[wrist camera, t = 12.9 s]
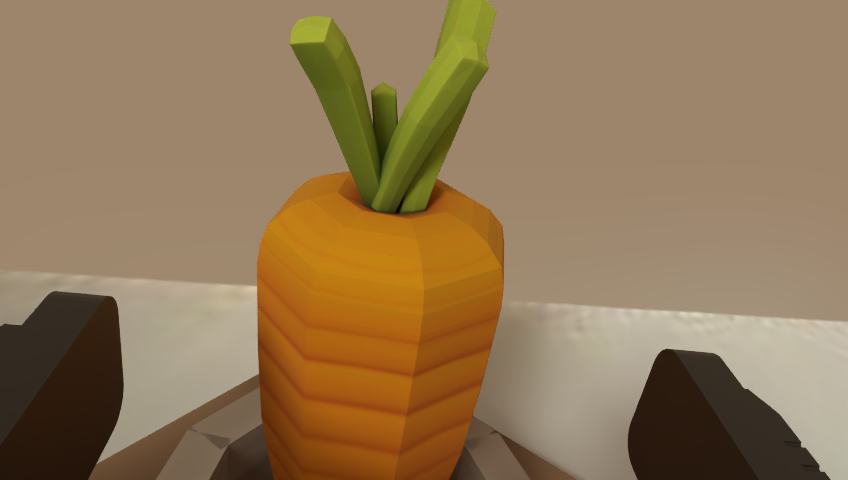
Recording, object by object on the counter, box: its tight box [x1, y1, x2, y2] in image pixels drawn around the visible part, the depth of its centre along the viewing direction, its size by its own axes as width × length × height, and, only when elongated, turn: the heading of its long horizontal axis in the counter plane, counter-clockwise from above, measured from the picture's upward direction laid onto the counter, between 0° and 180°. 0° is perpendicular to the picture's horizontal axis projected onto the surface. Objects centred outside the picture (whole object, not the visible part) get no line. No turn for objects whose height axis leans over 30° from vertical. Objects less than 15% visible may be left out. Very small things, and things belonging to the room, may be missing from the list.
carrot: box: [257, 0, 504, 480], centre depth 14 cm, size 5×5×15 cm
